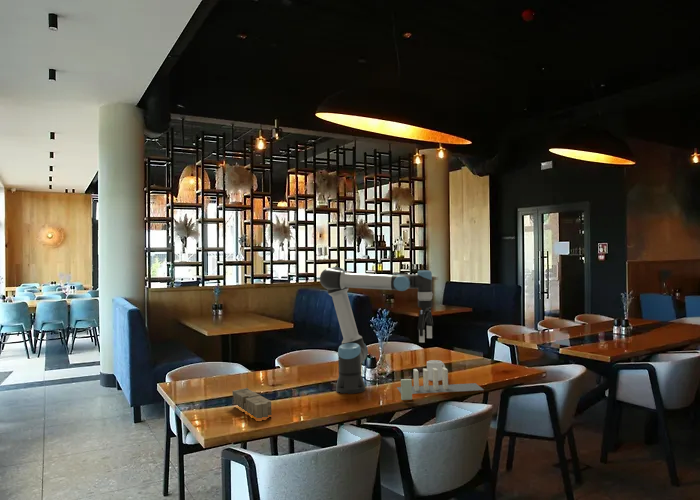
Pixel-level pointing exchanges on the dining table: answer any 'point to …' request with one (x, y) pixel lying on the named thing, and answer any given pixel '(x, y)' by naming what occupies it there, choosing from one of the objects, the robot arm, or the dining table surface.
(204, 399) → the dining table surface
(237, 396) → the grey long block
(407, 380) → the domino
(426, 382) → the domino
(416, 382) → the domino
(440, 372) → the cup
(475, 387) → the slate mat
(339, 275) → the robot arm
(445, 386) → the domino
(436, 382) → the domino
